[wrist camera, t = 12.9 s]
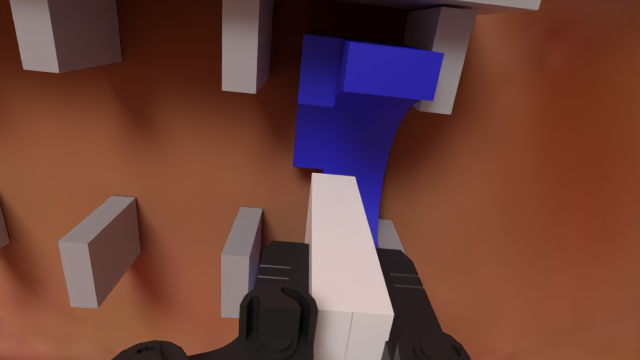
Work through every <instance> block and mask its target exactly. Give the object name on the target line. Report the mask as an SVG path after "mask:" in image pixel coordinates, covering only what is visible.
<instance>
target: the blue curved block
mask: <svg viewBox="0 0 640 360" xmlns="http://www.w3.org/2000/svg"><path fill="white" fill-rule="evenodd" d="M443 57H444V53H440V52H435V51H430V50H425V49H421V48H416V47H411V46H406V45H400V44H392V43H383V42H375V41H367V40H358V39H350V38H341V37H333V36H325V35H316V34H308V33H305V34H304V35H303V47H302V58H301V70H300V81H299V93H298V105H297V120H296V134H295V146H294V158H293V167H304V168H314V169H322V171H321V174H332V175H342V176H353V177H355V179H356V182H357V186H358V189H359V193H360V196H361V200H362V203H363V207H364V210H365V214H366V218H367V221H368V225H369V228H370V232H371V235H372V239H373V242H374V246H375V248H377V241H378V218H379V207H380V198H381V191H382V184H383V179H384V173H385V169H386V164H387V160H388V156H389V152H390V149H391V146H392V143H393V140H394V137H395V134H396V132H397V129H398V127H399V125H400V123H401V121H402V119H403V117H404V116H405V114H406V113H407V111H408V110H409V109H410V108H411V106H412V105H414V104H415V103H416V102H418V101H419V100H427V101H433V100H434V96H435V92H436V87H437V83H438V79H439V74H440V70H441V66H442V61H443Z"/></svg>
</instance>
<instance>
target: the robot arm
mask: <svg viewBox="0 0 640 360" xmlns="http://www.w3.org/2000/svg"><path fill="white" fill-rule="evenodd" d="M112 360H471V358H470V356H469V355H468V353H467V352H466V350H465V349H464V347H463V346H462V345H461V344H460V343H459V342H458V341H456V340H455V339H454V338H453V337H452V336H450V335H448V334H446V333H444V332H443V331H442V329H441V327H440V324H439V322H438V320H437V317H436V315H435V313H434V310H433V308H432V306H431V303H430V301H429V299H428V296H427V294H426V292H425V289H423V285H422V282H421V280H420V278H419V277H418V273H417V271H416V268H415V266H414V264H413V261H412V260H411V259H410V258H408V257H407V256H406V255H405V254H404V253H403V252H402V251H401V250H397V249H385V248H375V246H374V242H373V239H372V235H371V232H370V228H369V225H368V221H367V218H366V214H365V210H364V207H363V203H362V200H361V196H360V193H359V189H358V186H357V182H356V179H355V177H353V176H342V175H332V174H321V173H312V178H311V187H310V197H309V206H308V215H307V225H306V234H305V243H295V242H283V241H272V242H271V243H270V244H269V245H268V246H267V247H266V248H265V249H264V250H263V253H262V258H261V262H260V267H259V271H258V277H257V281H256V285H255V288H254V289H252V290H251V291H250V292H248V293H247V294H246V295H245V296H244V298H243V300H242V302H241V303H240V308H239V336H238V337H237V338H236V339H235V340H233V341H232V342H231V343H229V344H227V345H225V346H224V347H222V348H219V349H216V350H213V351H209V352H205V353H200V354H196V355H191V356H187V355H186V353H185V352H184V350H183V349H182V348H181V347H179V346H177V345H176V344H174V343H172V342H168V341H158V340H153V341H148V342H143V343H138V344H136V345H134V346H132V347H130V348H128V349H125V350H123V351H121V352H120V353H119V354H118V355H117V356H115V357H114V358H113V359H112Z"/></svg>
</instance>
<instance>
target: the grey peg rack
mask: <svg viewBox="0 0 640 360" xmlns="http://www.w3.org/2000/svg"><path fill="white" fill-rule="evenodd" d="M273 1H274V0H222V90H224V91H233V92H243V93H252V94H256V93H257V92H258V91H259V89H260V88H261V87H262V86H263V85H264V84H265V82H266V81H267V80H268V79H269V77H270V58H271V39H272V20H273ZM336 1H344V2H352V3H360V4H369V5H377V6H385V7H393V8H401V9H409V10H417V11H411V12H408V17H407V23H406V28H405V34H404V39H403V44H402V45H406V46H411V47H416V48H421V49H425V50H430V51H435V52H440V53H444V57H443V61H442V66H441V70H440V74H439V79H438V83H437V87H436V92H435V96H434V100H433V101H427V100H419V101H418V102H416V103H415V104H414V105H412V106H413V107H414V108H416V109H417V110H418V111H422V112H432V113H441V114H451V112H452V108H453V104H454V100H455V96H456V92H457V88H458V84H459V80H460V76H461V72H462V68H463V64H464V60H465V56H466V52H467V48H468V44H469V40H470V36H471V32H472V28H473V24H474V20H475V16H476V15H479V14H493V13H506V12H519V11H533V10H538V8H539V5H540V2H541V0H336ZM10 5H11V10H12V15H13V20H14V25H15V30H16V35H17V40H18V45H19V50H20V55H21V60H22V65H23V69H25V70H34V71H44V72H53V73H63V72H68V71H74V70H79V69H85V68H90V67H96V66H101V65H107V64H112V63H118V62H122V56H121V46H120V36H119V26H118V15H117V5H116V0H10ZM262 210H263V209H260V208H249V207H240V209H239V212H238V214H237V217H236V219H235V222H234V224H233V227H232V229H231V232H230V234H229V237H228V239H227V242H226V244H225V247H224V249H223V252H222V254H221V317H229V318H239V308H240V303H241V302H242V300H243V298H244V296H245V295H246V294H247V293H248V292H250V291H251V290H252V289H254V288H255V285H256V281H257V277H258V271H259V267H260V264H259V263H260V248H261V229H262ZM9 242H10V241H9V237H8V233H7V229H6V225H5V222H4V218H3V214H2V210H1V206H0V249H1V248H2V247H4V246H5V245H6V244H8V243H9ZM58 244H59V249H60V254H61V259H62V264H63V269H64V274H65V279H66V284H67V289H68V294H69V299H70V304H71V307H84V308H99V307H100V305H101V304H102V303H103V301H104V300H105V299H106V297H107V296H108V295H109V294H110V292H111V291H112V290H113V288H114V287H115V286H116V284H117V283H118V282H119V280H120V279H121V278H122V276H123V275H124V274H125V273H126V271H127V270H128V269H129V267H130V266H131V265H132V263H133V262H134V261H135V259H136V258H137V257H138V255H139V254H140V253H141V248H140V238H139V228H138V218H137V208H136V198H134V197H122V196H111V197H110V198H109V199H108V200H107V201H106V202H104V203H103V204H102V205H101V206H100V207H98V208H97V209H96V210H95V211H94V212H92V213H91V214H90V215H89V216H88V217H87V218H85V219H84V220H83V221H82V222H81V223H79V224H78V225H77V226H76V227H75V228H74V229H72V230H71V231H70V232H69V233H68V234H66V235H65V236H64V237H63V238H62V239H60V240H59V241H58ZM377 248H385V249H397V250H401V251H402V252H403V253H404V254H405V251H404V249H403V246H402V244H401V242H400V239H399V237H398V234H397V232H396V229H395V227H394V225H393V222H392V220H387V219H378V241H377ZM405 255H406V254H405Z"/></svg>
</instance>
